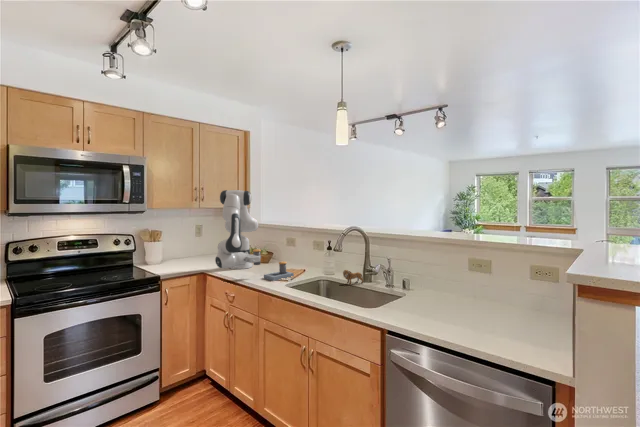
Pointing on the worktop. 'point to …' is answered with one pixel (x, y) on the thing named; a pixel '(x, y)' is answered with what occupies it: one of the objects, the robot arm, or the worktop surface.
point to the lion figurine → (352, 276)
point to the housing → (277, 276)
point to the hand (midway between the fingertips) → (258, 256)
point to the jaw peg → (257, 253)
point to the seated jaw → (282, 267)
